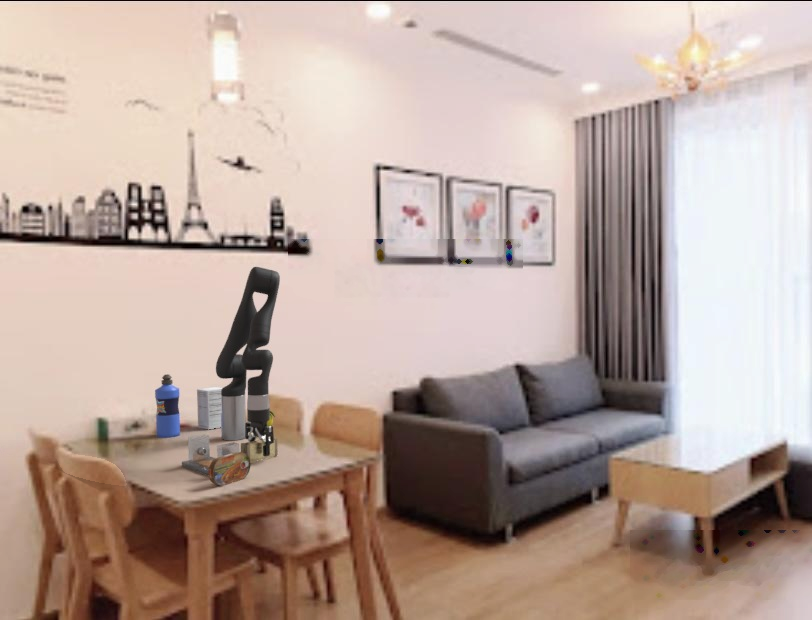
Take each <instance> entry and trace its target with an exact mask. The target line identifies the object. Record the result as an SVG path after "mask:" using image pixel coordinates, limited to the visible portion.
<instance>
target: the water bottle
mask: <svg viewBox="0 0 812 620" xmlns="http://www.w3.org/2000/svg"><path fill="white" fill-rule="evenodd" d="M161 379H162V380H161V386H159V387H158V388H156V389H155V390H154V398H155V401H156V414H155V415H156V416H155V417H156V419H155V420H156V422H155V425H156V427H155V428H156V437H157V438H159V439H168V438H169V439H170V438H175V437H179V436H181V423H180V422H181V421H180V419H181V418H180V410H179V409H180V408H179V404H180V403H179V400H180V388H179V387H176V386H174V385H173V383H174V382H173V379H172V376H171V375H170V374H164V375H162V377H161Z"/></svg>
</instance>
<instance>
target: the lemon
mask: <svg viewBox="0 0 812 620" xmlns="http://www.w3.org/2000/svg"><path fill="white" fill-rule="evenodd" d="M273 417H274V418H276V416H275V414H274V412H272V411H271V410H270V420H269V421H267V426H273V423H274V418H273Z"/></svg>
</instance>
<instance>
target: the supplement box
mask: <svg viewBox="0 0 812 620" xmlns="http://www.w3.org/2000/svg"><path fill="white" fill-rule="evenodd" d="M222 388H223V387H217V386H213V387H212V386H211V387H205V388H197V389H196V394H197V395H196V399H197V400H196V401H197V403H196V405H197V427H198V429H203V430H207V429H208V431H210V430H209V429H211V430H215V429H214V428H216V429H221V428H220V427H221V414H222V403H221V390H222Z"/></svg>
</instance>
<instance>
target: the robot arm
mask: <svg viewBox="0 0 812 620" xmlns="http://www.w3.org/2000/svg"><path fill="white" fill-rule="evenodd" d="M280 278H281V277H280V273H279V272H278V271H277V270H272V269H268V268H264V267H260V266H253V267H252V268H251V270H250V271H249V274H248V277H247V280H246V284H245V286H244V290H243V294H242V298H241V301H240V304H239V306H238V309H237V311H236V314H235V316H234V318H233V321H232V324H231V327H230V331H229V333H228V336H227V339H226V341H225V343H224V345H223V348H222V350H221V352H220V354H219V356H218V358H217V361H216V363H215V373H216V376H217V377H218V378H220V379H225V380H226V379H227V380H228V379H231V382H229V384H227V385H226V386H224V387H221V388H222V390H221V403H222V414H221V428H220V429H221V431H220V432H221V438H222V440H223V439H224V441H239V440H244V439H245V440H248V441H247V442H252V441H257V438H258V439H259V440H261V441H262V443H263V456H269V455H270V444H272V443H274V439H275V438H274V427H273V425H272V426H267V421H269V420H270V414H271V413H270V411H271V409H270V408H271V407H270V395H269V393H270V392H269V391H270V390H269V382H270V381H269V380H270V373H271V369H272V367H273V361H274V357H273V356H274V355H273V353H272V351H270V350H269V349H259V348H262V347H265V346H267V345H268V344H269V343H270V336H271V327H272V319H273V315H274V310H275V306H276V302H277V298H278V294H279V288H280V280H281V279H280ZM254 293H258V294H263V295H266V297H267V298H266V300H265V302H264V304H263V306H262V307H260V309H259V310H258V311H257V307H256V305H255V302H254ZM244 347H245V348H244ZM243 348H244V350H243V352H242V354H241V353H239V354H238V352H239V351H241V350H242V349H243ZM247 371H261V373H260V374H259V375H257V376H252V377H249V378H248V379H247ZM246 388H247V389H246ZM246 390H247V400H246ZM246 401H247V403H246ZM246 405H247V406H246ZM246 407H247V408H246ZM246 409H247V410H246ZM246 413H247V415H246ZM246 416H247V417H246ZM246 418H247V419H246ZM269 438H271V440H270V439H269ZM265 439H266V442H265Z"/></svg>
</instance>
